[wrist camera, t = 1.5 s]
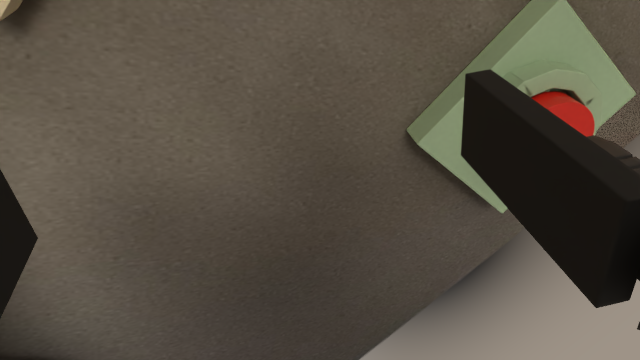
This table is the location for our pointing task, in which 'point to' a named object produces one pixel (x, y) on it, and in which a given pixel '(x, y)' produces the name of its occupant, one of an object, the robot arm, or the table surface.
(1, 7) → the panel
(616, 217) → the robot arm
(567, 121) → the button
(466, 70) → the button block
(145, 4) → the table surface
